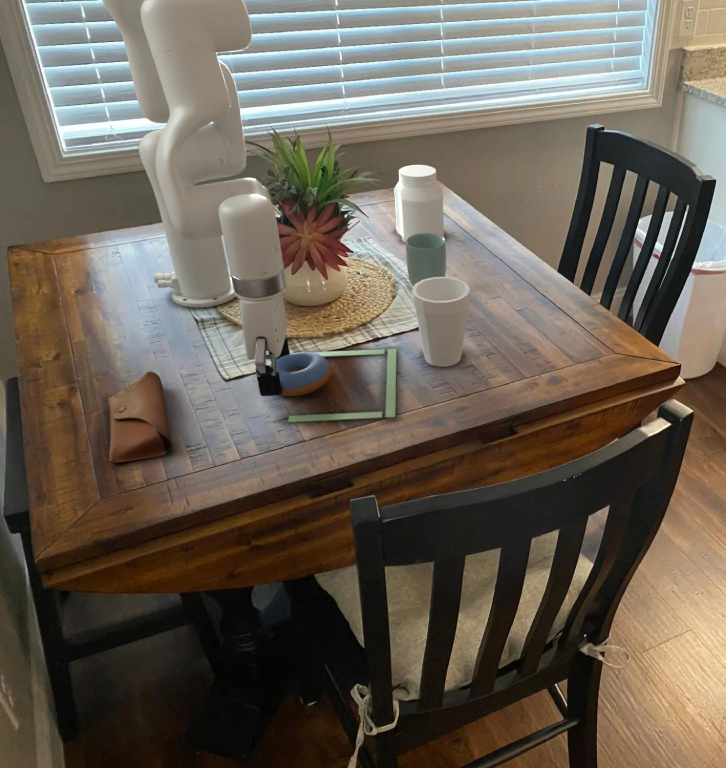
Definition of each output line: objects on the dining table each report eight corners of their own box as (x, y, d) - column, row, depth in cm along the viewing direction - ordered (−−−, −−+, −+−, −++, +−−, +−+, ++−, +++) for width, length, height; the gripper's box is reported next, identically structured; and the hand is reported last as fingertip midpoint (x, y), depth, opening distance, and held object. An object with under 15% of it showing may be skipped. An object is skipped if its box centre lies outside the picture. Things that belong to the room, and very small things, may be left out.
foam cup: (478, 349, 132) (478, 282, 125) (458, 376, 125) (457, 306, 118) (429, 339, 135) (426, 273, 128) (406, 364, 128) (402, 296, 120)
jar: (393, 227, 177) (389, 164, 168) (432, 223, 180) (430, 160, 172) (406, 246, 168) (403, 181, 160) (447, 241, 171) (446, 176, 163)
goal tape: (288, 422, 113) (288, 421, 113) (302, 353, 130) (302, 352, 130) (395, 417, 115) (395, 416, 115) (396, 349, 132) (396, 348, 131)
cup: (449, 279, 155) (448, 234, 149) (443, 297, 148) (441, 250, 143) (412, 277, 155) (410, 231, 150) (404, 294, 149) (401, 247, 143)
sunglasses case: (103, 396, 117) (117, 361, 115) (150, 406, 121) (165, 372, 119) (108, 465, 103) (124, 426, 101) (161, 473, 108) (178, 435, 106)
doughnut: (258, 381, 122) (253, 357, 120) (315, 362, 127) (312, 339, 125) (283, 410, 116) (278, 385, 113) (342, 389, 121) (339, 365, 118)
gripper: (243, 256, 117) (261, 349, 127) (220, 309, 103) (242, 410, 113) (292, 255, 118) (306, 348, 128) (276, 307, 104) (293, 408, 114)
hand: (276, 377), depth 120 cm, fingers open, 9 cm apart
